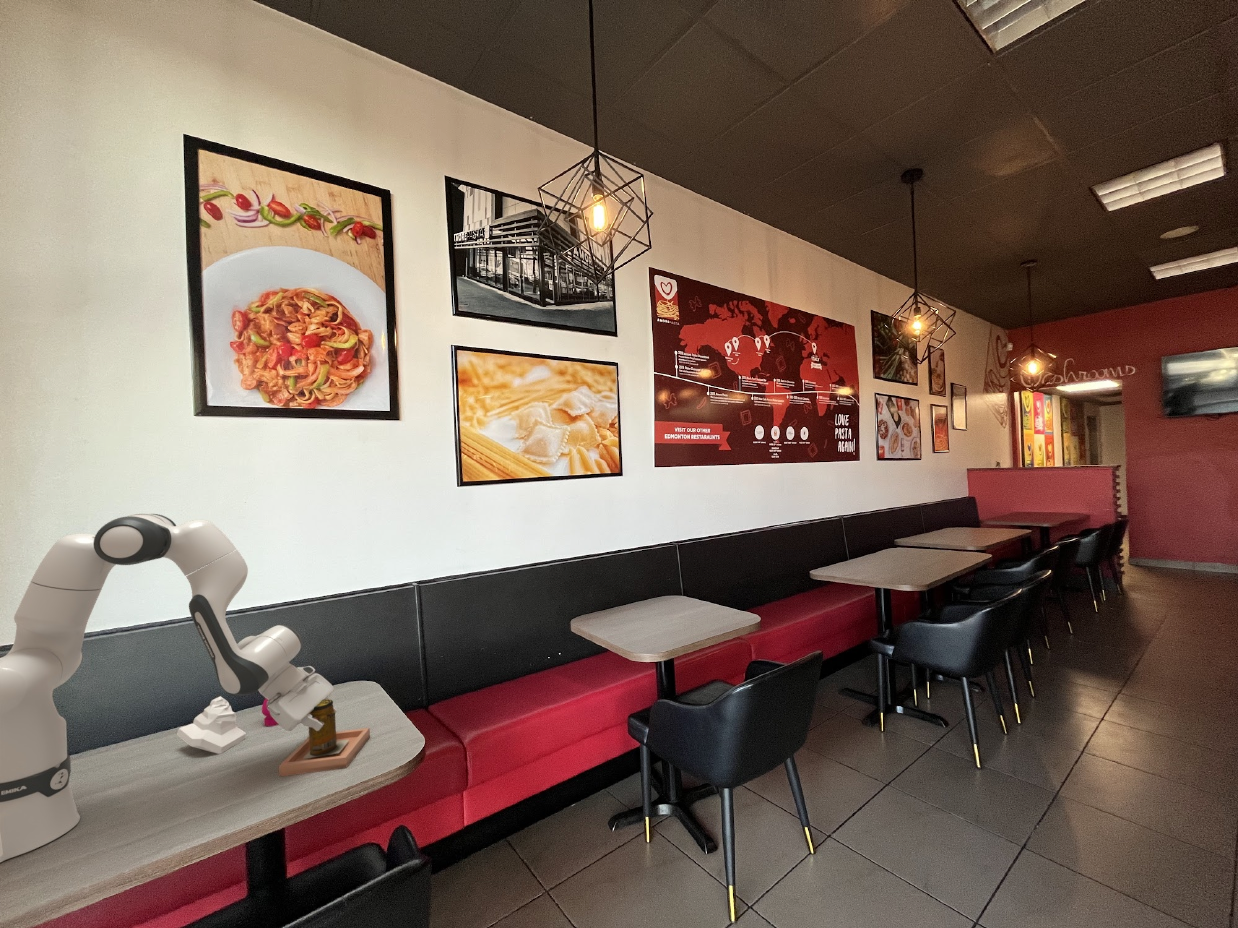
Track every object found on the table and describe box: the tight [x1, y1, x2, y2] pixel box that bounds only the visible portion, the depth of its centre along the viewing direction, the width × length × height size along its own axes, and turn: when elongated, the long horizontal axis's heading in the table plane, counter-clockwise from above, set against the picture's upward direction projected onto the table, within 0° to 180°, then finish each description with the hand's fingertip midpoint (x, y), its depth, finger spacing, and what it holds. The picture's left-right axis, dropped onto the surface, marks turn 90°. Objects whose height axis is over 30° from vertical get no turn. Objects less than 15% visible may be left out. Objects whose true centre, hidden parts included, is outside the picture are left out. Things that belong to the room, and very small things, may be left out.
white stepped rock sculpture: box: [177, 695, 247, 755], centre depth 141 cm, size 12×15×14 cm
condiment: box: [303, 698, 349, 759], centre depth 131 cm, size 7×8×12 cm
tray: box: [278, 727, 371, 777], centre depth 131 cm, size 15×15×2 cm
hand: (328, 720), depth 131 cm, fingers closed on condiment, 6 cm apart
